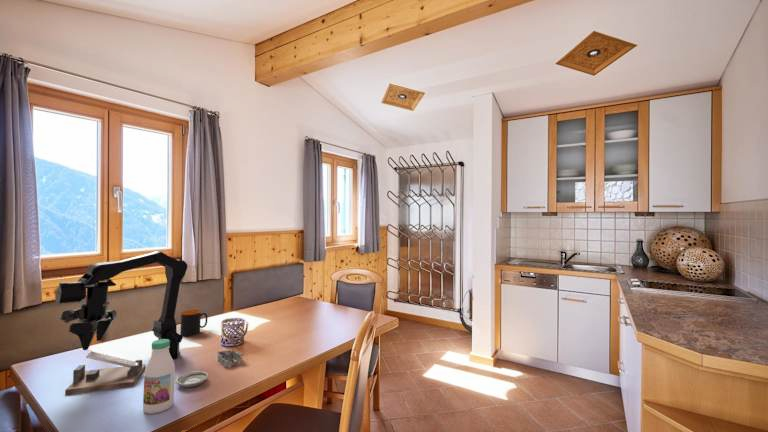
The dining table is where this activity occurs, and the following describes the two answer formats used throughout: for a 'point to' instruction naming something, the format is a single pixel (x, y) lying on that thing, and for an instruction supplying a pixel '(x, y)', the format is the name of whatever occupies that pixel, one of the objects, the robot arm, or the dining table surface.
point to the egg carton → (229, 358)
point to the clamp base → (104, 378)
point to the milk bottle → (159, 379)
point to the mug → (191, 323)
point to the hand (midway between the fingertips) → (92, 345)
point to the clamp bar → (111, 359)
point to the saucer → (191, 378)
